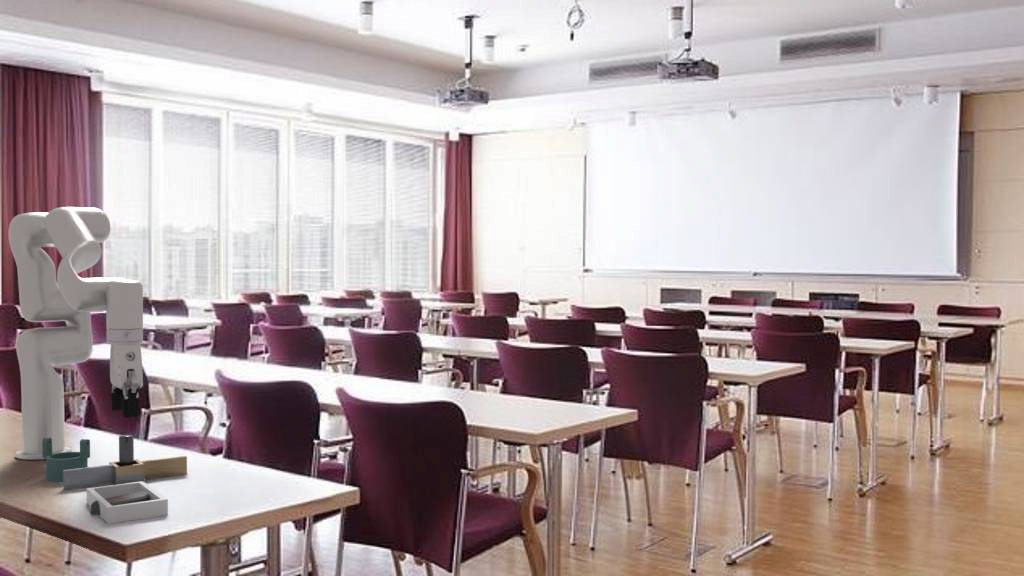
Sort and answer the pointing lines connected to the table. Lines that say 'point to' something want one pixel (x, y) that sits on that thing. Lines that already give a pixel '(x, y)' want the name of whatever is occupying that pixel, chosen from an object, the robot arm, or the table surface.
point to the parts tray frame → (131, 510)
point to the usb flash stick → (121, 500)
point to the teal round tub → (64, 459)
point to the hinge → (124, 472)
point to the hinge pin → (126, 450)
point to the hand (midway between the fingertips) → (124, 413)
